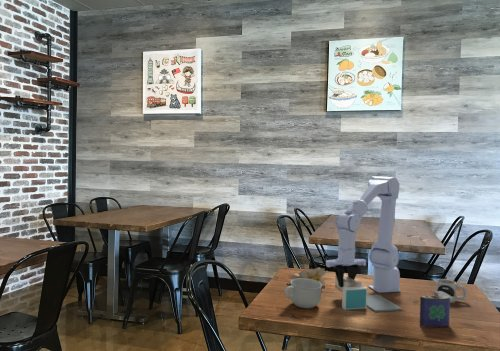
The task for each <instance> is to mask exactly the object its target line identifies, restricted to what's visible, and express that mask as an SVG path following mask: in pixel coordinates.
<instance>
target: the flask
mask: <svg viewBox="0 0 500 351" xmlns="http://www.w3.org/2000/svg"><path fill="white" fill-rule="evenodd" d="M439 294H440V293H439ZM419 300H420V302H419V303H420V304H419V326H420V327H421V326H422V327H421V328H426V327H433V329H435V328H439V327H440V328H448V326H449V327H450V314H451V303H450V297H448V296H439V295H438V291H436V290H434V293H433V294H432V295H431V294H428V295H427V294H425V295H421V296H420V298H419Z"/></svg>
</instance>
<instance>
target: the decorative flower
mask: <svg viewBox="0 0 500 351" xmlns="http://www.w3.org/2000/svg"><path fill="white" fill-rule="evenodd" d="M327 272H329V271H328V270H325V268H321V267H317V268H310V269H308V271H307V270H301V271H299V272H298V273H294V274H293V275H289V276H288V278H289V279H291V280H293V279H297V278H305V279H312V280H316V281H318V282H320V283H321V284H322V285H325V284H326V281H325V280H324V279H322V277H323V276H325V275H327Z"/></svg>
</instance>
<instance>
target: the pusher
mask: <svg viewBox="0 0 500 351" xmlns="http://www.w3.org/2000/svg"><path fill="white" fill-rule="evenodd" d="M359 286H363V285H362V281H359V280H358V281H357V280H355V279H354V280H353V279H351V278H350V277H348V274H345V273H344V278H343V287H359ZM343 287H340V286H339V285H338V279H337V276H336V275H335V281H334V288H335V289H337V290H338V291H340V292H341V293H342V294H343Z"/></svg>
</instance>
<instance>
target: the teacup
mask: <svg viewBox="0 0 500 351" xmlns="http://www.w3.org/2000/svg"><path fill="white" fill-rule="evenodd" d="M322 287H323V284H321V283H320V282H318V281H316V280H312V279H305V278H297V279H291V280H290V285H288V286H286V288H285V290H284V296H285V297H286V299H288V300H289V301H291V302H292V303H293V304H294V305H295V306H297V307H298V308H300V309H301V308H302V309H313V308H314V307H316V306H318V305H319V303H320V301H321V300H322V298H321V297H322V289H323V288H322Z"/></svg>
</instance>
